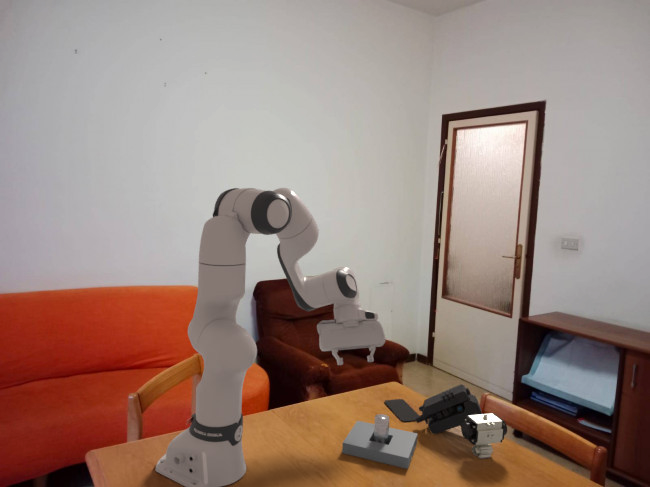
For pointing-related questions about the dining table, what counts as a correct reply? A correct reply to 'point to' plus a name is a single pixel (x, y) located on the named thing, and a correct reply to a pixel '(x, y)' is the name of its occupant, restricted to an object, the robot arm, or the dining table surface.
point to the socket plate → (380, 445)
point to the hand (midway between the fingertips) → (355, 363)
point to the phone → (401, 410)
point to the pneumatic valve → (483, 432)
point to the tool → (448, 409)
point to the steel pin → (381, 429)
